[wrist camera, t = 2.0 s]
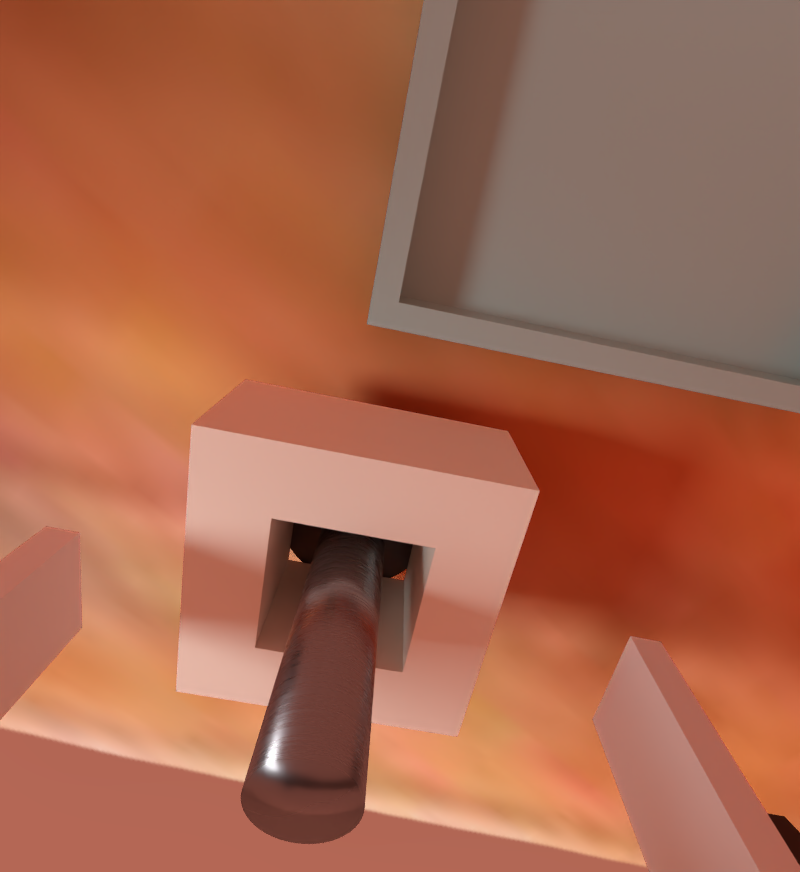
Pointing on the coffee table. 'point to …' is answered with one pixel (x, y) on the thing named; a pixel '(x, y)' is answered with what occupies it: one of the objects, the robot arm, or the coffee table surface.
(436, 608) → the ring
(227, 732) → the coffee table surface
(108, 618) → the coffee table surface
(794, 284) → the tray
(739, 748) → the coffee table surface
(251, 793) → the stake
